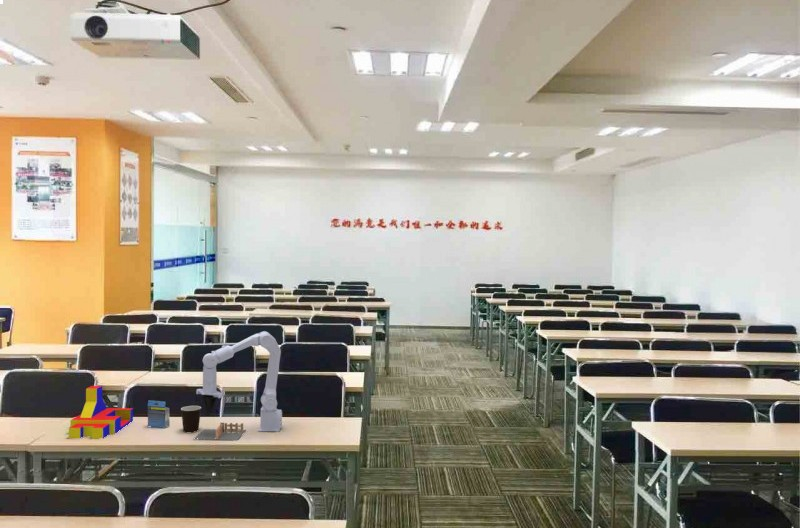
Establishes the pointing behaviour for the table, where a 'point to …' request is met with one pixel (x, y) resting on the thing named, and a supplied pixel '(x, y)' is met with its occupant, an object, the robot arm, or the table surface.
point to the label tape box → (158, 414)
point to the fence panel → (219, 431)
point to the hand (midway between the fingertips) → (209, 412)
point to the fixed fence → (231, 427)
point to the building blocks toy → (99, 417)
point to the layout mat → (211, 435)
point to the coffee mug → (191, 418)
